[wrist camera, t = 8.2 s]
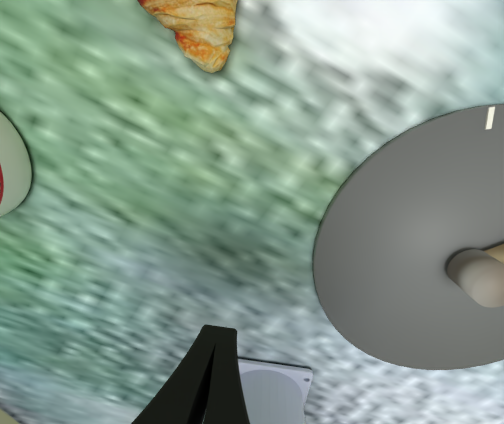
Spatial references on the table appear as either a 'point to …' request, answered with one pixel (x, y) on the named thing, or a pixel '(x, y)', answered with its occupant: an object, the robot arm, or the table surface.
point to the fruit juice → (12, 167)
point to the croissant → (198, 28)
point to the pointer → (480, 275)
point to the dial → (417, 244)
